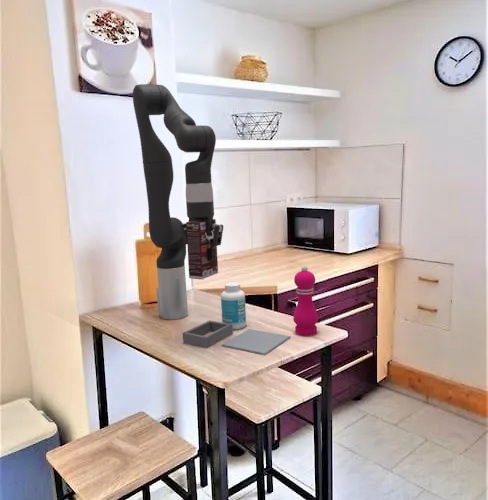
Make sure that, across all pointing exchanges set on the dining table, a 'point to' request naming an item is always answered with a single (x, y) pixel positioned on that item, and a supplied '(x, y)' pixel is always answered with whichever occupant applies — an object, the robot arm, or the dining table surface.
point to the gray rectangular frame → (197, 339)
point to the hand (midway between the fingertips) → (203, 260)
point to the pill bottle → (233, 306)
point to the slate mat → (256, 341)
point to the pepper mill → (305, 304)
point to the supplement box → (199, 251)
